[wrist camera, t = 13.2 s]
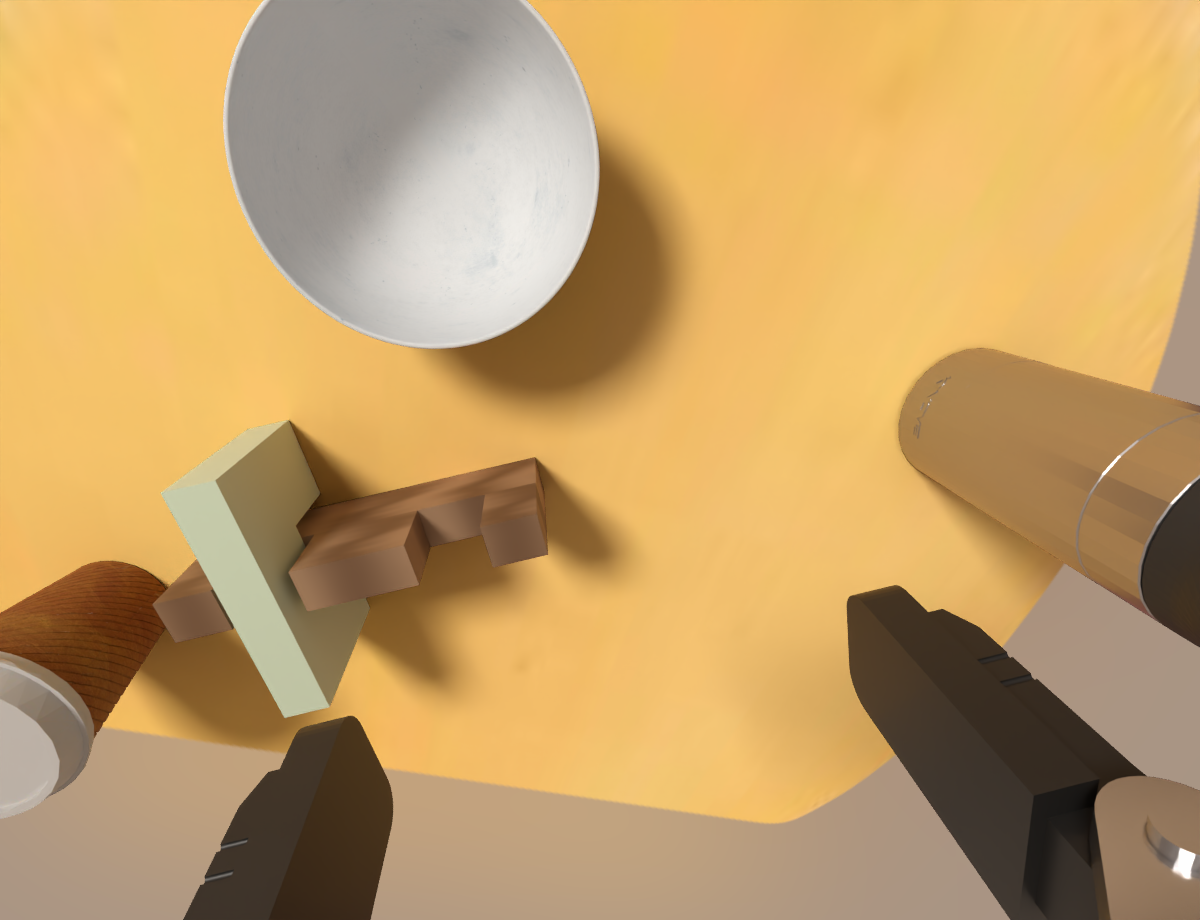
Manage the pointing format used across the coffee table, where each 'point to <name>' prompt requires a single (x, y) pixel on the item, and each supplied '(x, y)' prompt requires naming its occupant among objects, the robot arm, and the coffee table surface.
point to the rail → (385, 542)
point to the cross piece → (266, 562)
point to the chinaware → (413, 161)
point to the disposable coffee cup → (68, 673)
